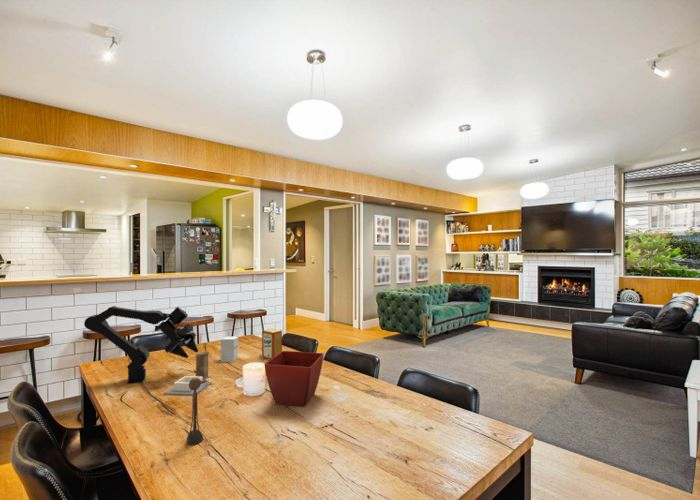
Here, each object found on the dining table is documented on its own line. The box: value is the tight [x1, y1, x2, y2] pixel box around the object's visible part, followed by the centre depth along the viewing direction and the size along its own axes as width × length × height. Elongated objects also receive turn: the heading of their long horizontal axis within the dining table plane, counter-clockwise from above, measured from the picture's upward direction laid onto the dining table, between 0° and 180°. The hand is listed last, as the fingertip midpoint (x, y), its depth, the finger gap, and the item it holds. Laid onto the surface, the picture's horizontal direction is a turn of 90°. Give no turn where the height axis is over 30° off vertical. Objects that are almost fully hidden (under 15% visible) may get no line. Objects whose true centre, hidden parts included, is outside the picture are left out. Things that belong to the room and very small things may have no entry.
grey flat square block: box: [163, 375, 212, 396], centre depth 154 cm, size 14×14×4 cm
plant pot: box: [264, 350, 324, 407], centre depth 142 cm, size 19×19×17 cm
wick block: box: [195, 351, 209, 380], centre depth 167 cm, size 4×4×12 cm
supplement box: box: [220, 336, 239, 363], centre depth 196 cm, size 7×7×13 cm
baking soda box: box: [261, 328, 283, 361], centre depth 200 cm, size 10×6×16 cm
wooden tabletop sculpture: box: [185, 378, 207, 446], centre depth 111 cm, size 6×5×20 cm
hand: (192, 354), depth 168 cm, fingers open, 9 cm apart
